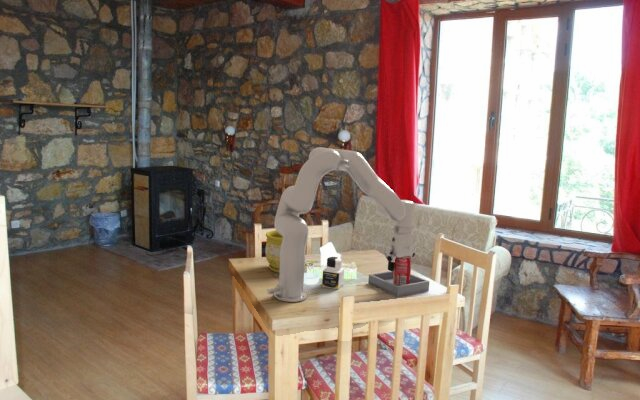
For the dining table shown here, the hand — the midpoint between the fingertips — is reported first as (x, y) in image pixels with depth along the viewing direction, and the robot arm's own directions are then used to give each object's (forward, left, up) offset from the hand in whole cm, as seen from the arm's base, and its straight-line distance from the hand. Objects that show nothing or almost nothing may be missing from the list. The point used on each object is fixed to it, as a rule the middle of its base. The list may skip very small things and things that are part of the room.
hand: (399, 269), depth 217 cm
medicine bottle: (-25, +13, -8) cm, 29 cm away
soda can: (+1, -1, -7) cm, 7 cm away
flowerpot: (-32, +41, -8) cm, 52 cm away
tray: (0, 0, -8) cm, 8 cm away
